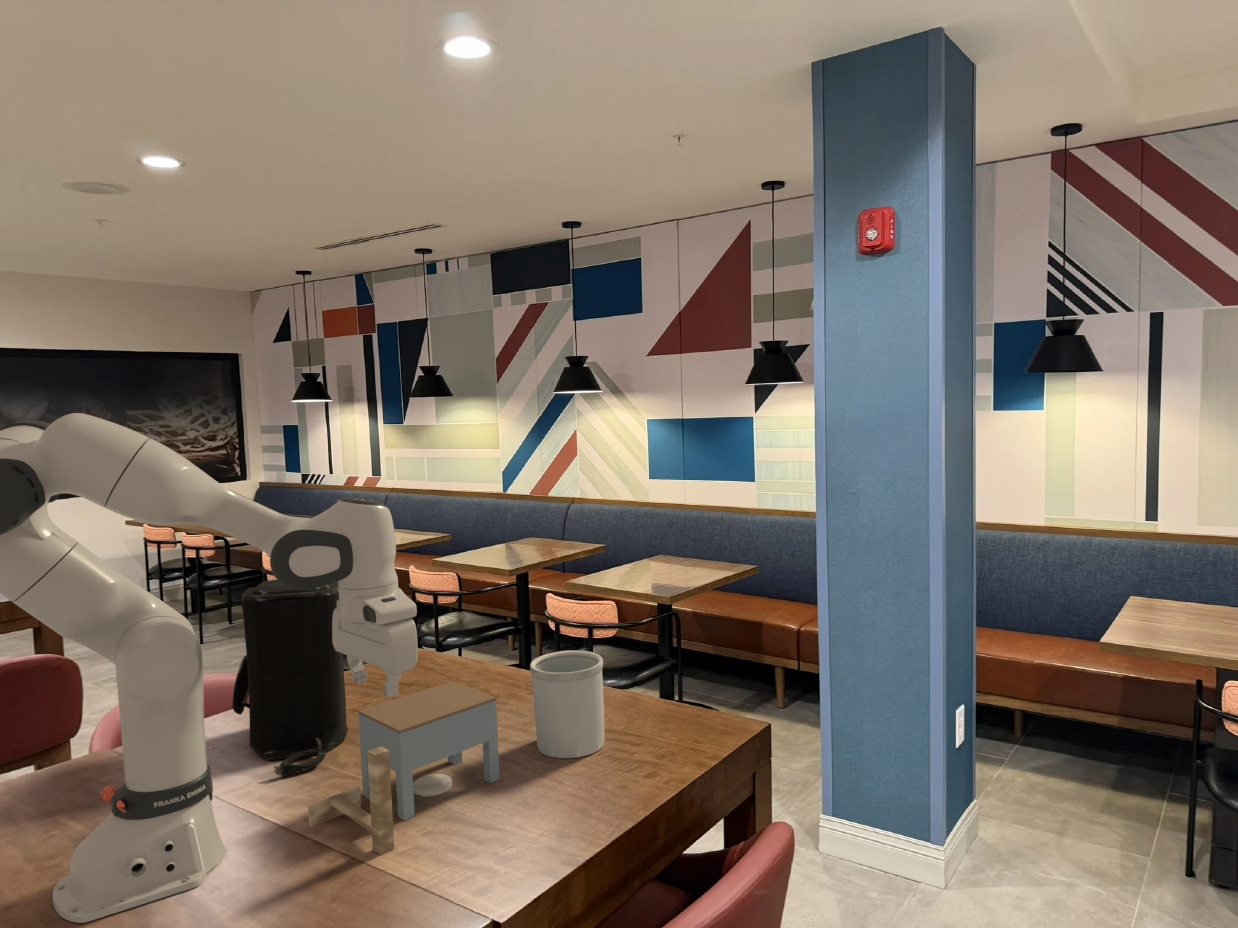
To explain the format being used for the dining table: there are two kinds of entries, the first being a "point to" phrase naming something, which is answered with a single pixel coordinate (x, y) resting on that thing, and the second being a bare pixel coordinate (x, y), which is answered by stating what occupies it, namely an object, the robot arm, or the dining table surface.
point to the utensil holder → (568, 703)
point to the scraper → (351, 803)
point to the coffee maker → (291, 674)
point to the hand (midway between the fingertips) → (375, 688)
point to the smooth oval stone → (432, 785)
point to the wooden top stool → (429, 734)
